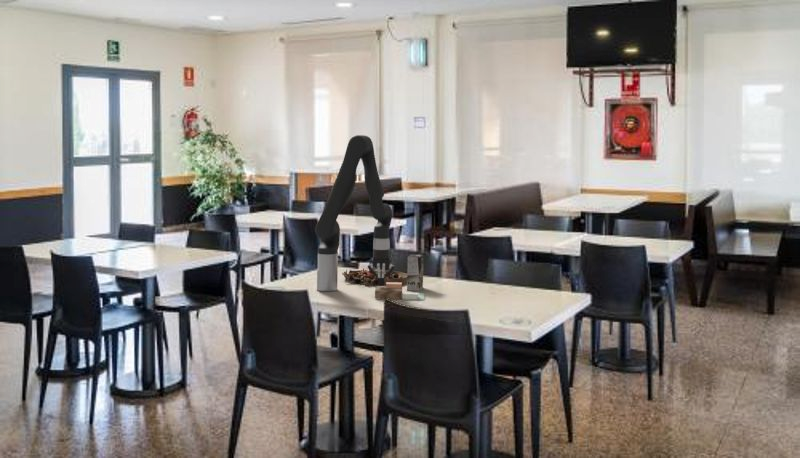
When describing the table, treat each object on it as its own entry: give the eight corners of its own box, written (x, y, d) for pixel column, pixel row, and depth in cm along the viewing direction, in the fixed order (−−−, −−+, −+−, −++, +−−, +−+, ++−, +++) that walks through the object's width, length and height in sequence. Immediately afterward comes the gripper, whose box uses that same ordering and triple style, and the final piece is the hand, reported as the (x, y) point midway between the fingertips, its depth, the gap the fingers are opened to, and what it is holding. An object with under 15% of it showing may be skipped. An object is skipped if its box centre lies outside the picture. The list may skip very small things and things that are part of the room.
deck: (374, 298, 370) (375, 291, 369) (376, 293, 382) (376, 285, 382) (401, 299, 370) (402, 291, 369) (402, 293, 382) (402, 286, 382)
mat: (402, 299, 369) (402, 298, 369) (402, 293, 383) (402, 292, 383) (424, 300, 369) (424, 299, 369) (423, 294, 383) (423, 293, 383)
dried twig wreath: (328, 283, 413) (328, 267, 412) (373, 276, 438) (373, 261, 437) (380, 290, 390) (380, 274, 389) (425, 282, 415) (425, 267, 414)
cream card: (402, 298, 370) (402, 294, 370) (402, 296, 374) (402, 292, 374) (417, 298, 370) (418, 294, 369) (418, 297, 374) (418, 292, 373)
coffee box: (420, 291, 390) (420, 257, 388) (406, 290, 391) (407, 256, 389) (423, 287, 398) (424, 254, 397) (410, 286, 400) (410, 253, 398)
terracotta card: (386, 288, 377) (386, 283, 376) (386, 286, 381) (386, 282, 380) (401, 288, 377) (401, 284, 376) (401, 286, 381) (401, 282, 380)
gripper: (366, 248, 373) (366, 287, 375) (395, 249, 373) (395, 287, 375) (367, 246, 380) (366, 284, 382) (396, 247, 380) (395, 284, 382)
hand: (381, 285), depth 378 cm, fingers closed
